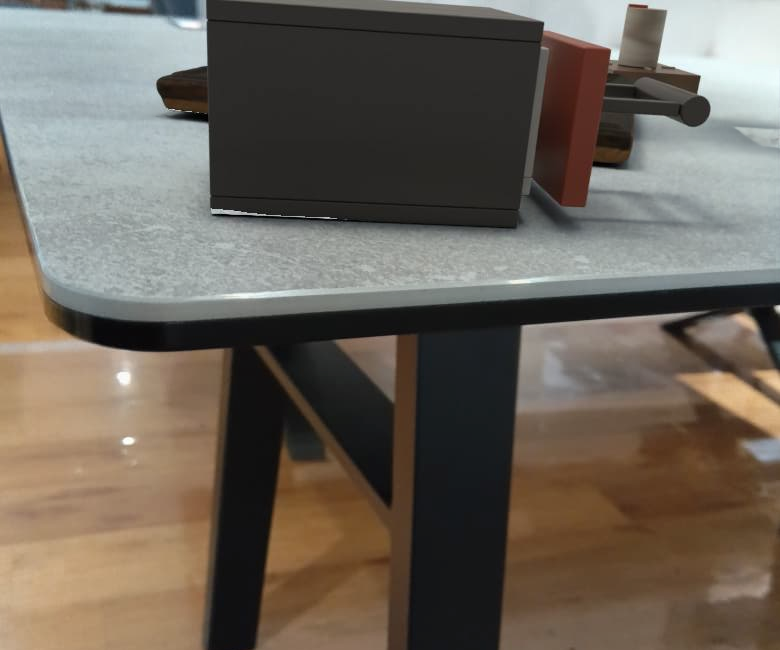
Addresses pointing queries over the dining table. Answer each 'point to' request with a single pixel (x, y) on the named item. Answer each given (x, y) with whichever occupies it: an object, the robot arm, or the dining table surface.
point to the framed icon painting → (611, 143)
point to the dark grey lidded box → (370, 109)
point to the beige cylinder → (642, 36)
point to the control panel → (659, 75)
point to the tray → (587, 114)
